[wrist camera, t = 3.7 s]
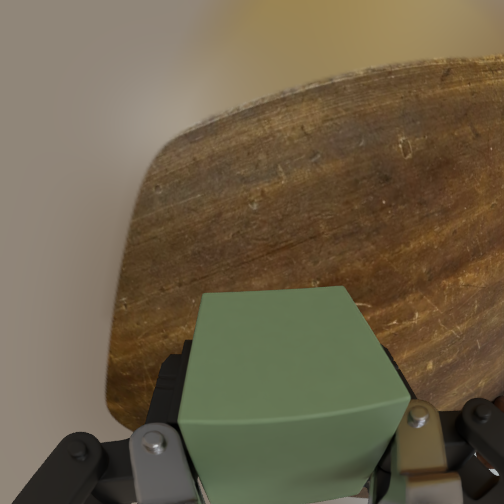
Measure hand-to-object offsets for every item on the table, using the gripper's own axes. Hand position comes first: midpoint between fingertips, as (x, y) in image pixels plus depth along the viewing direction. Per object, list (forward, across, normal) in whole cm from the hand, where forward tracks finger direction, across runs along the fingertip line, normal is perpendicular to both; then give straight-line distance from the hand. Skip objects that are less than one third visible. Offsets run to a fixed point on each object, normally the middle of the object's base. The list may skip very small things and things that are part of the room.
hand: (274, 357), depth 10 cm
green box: (0, 0, 0) cm, 0 cm away
